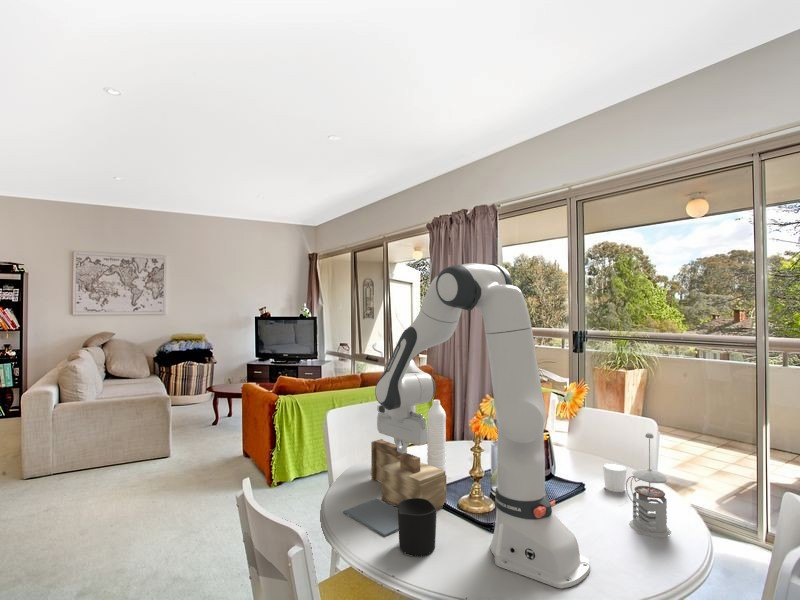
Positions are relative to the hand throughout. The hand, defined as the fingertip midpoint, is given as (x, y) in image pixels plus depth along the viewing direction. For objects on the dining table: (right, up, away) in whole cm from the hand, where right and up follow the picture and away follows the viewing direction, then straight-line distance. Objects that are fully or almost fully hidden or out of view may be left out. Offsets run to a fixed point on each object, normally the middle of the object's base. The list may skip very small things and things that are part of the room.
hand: (401, 452), depth 145 cm
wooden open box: (+3, -12, -10) cm, 16 cm away
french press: (+65, -12, -24) cm, 70 cm away
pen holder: (+4, -12, -34) cm, 36 cm away
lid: (+3, -3, -10) cm, 11 cm away
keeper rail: (-4, -12, +5) cm, 13 cm away
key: (-4, -1, +5) cm, 7 cm away
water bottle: (+11, -12, +17) cm, 23 cm away
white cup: (+68, -12, +1) cm, 69 cm away
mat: (-6, -12, -19) cm, 23 cm away
